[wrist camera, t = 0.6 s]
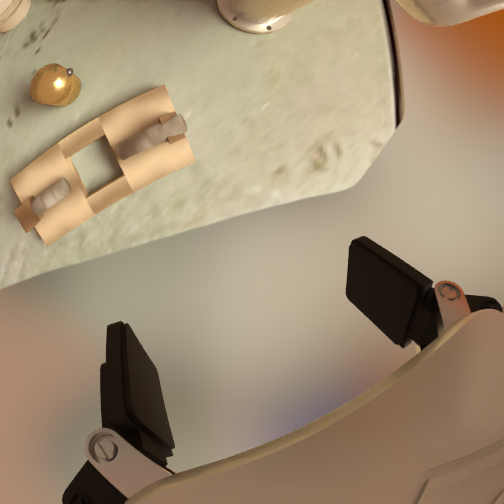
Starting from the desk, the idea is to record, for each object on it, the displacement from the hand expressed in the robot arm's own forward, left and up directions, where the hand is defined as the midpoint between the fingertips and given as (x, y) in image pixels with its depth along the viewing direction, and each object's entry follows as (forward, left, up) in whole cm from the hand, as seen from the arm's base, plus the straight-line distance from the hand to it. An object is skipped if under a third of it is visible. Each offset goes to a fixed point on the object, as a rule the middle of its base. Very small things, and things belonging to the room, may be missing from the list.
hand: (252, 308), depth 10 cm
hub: (-19, -9, -33) cm, 39 cm away
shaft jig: (-6, -9, -33) cm, 34 cm away
